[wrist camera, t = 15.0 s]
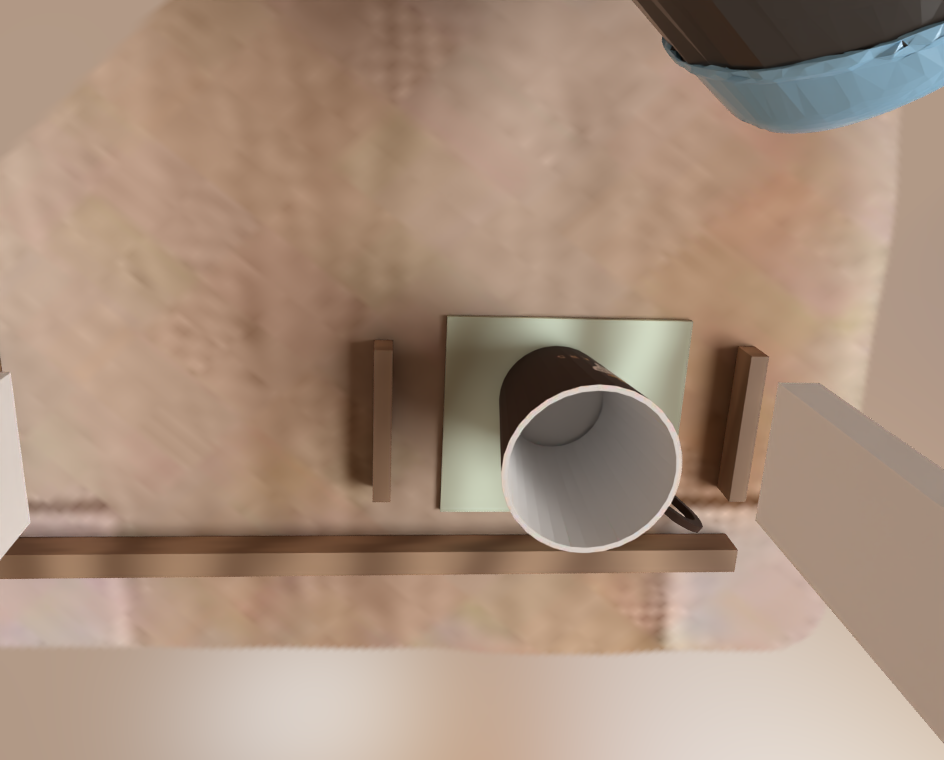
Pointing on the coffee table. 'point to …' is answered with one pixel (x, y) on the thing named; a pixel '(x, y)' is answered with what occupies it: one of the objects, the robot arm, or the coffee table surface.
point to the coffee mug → (585, 454)
